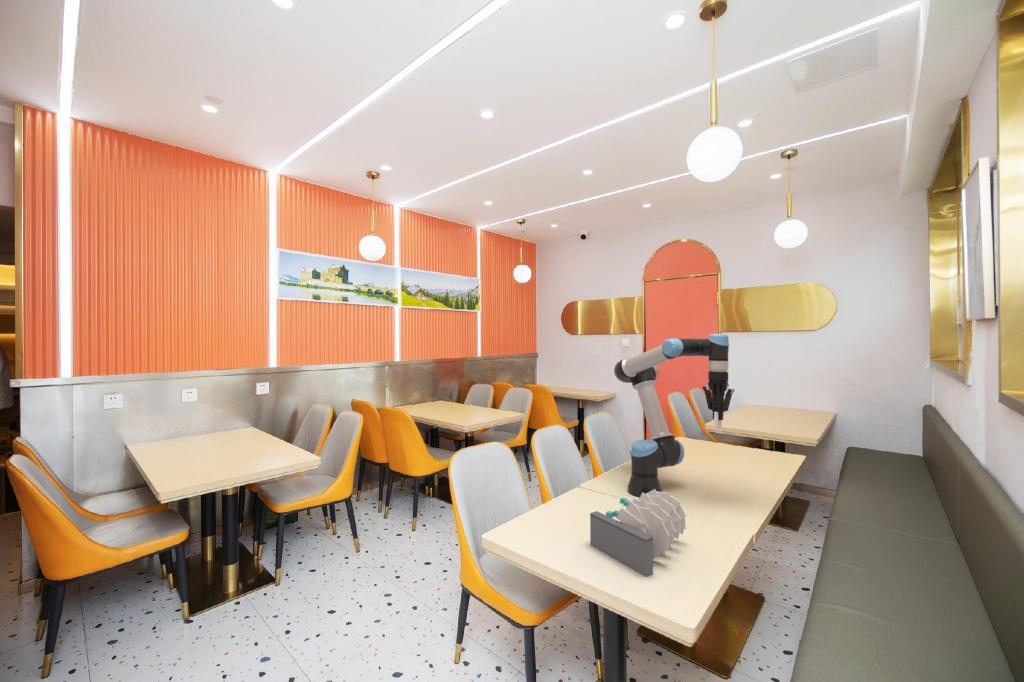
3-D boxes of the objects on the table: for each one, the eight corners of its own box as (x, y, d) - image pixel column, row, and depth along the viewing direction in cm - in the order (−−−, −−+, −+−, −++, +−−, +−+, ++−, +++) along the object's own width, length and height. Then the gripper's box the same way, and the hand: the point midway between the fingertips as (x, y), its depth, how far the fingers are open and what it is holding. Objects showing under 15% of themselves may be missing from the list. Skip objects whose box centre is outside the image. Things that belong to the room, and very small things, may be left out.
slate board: (590, 544, 147) (590, 513, 147) (597, 542, 149) (597, 511, 149) (645, 576, 127) (645, 539, 127) (653, 573, 128) (653, 537, 129)
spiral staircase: (676, 549, 152) (652, 576, 132) (632, 516, 162) (604, 537, 142) (699, 506, 148) (679, 527, 128) (653, 476, 158) (628, 491, 138)
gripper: (738, 371, 176) (738, 429, 176) (709, 369, 187) (708, 424, 187) (728, 372, 172) (727, 431, 172) (698, 370, 183) (698, 425, 183)
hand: (717, 427), depth 179 cm, fingers closed
